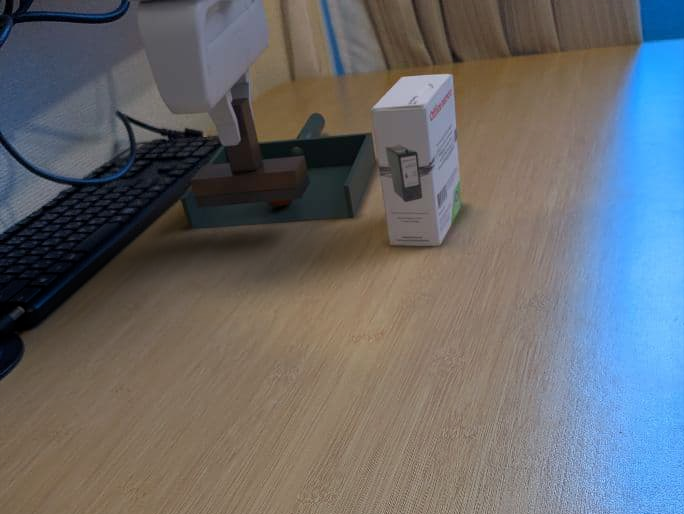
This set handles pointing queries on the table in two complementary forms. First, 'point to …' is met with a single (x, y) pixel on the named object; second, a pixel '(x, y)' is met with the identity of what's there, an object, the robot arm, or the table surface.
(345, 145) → the dustpan
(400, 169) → the ink box
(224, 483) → the table surface
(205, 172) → the brush
